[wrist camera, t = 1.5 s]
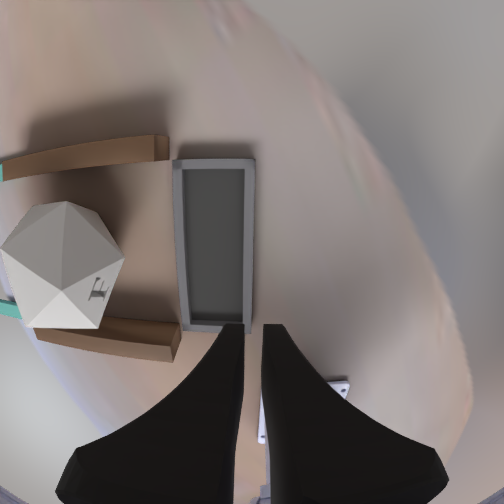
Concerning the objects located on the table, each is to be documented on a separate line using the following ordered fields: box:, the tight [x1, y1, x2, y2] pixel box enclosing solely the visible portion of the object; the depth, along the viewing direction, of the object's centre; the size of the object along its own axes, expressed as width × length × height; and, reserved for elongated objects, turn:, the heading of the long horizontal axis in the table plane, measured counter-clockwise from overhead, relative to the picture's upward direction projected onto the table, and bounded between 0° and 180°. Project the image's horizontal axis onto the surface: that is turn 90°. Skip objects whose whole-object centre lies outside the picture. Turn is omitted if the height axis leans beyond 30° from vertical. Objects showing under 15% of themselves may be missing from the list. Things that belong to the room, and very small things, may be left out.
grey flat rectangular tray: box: [172, 159, 255, 334], centre depth 19 cm, size 12×5×1 cm, turn 179°
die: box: [0, 201, 125, 329], centre depth 16 cm, size 8×9×10 cm
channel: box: [2, 135, 181, 363], centre depth 18 cm, size 15×13×3 cm
